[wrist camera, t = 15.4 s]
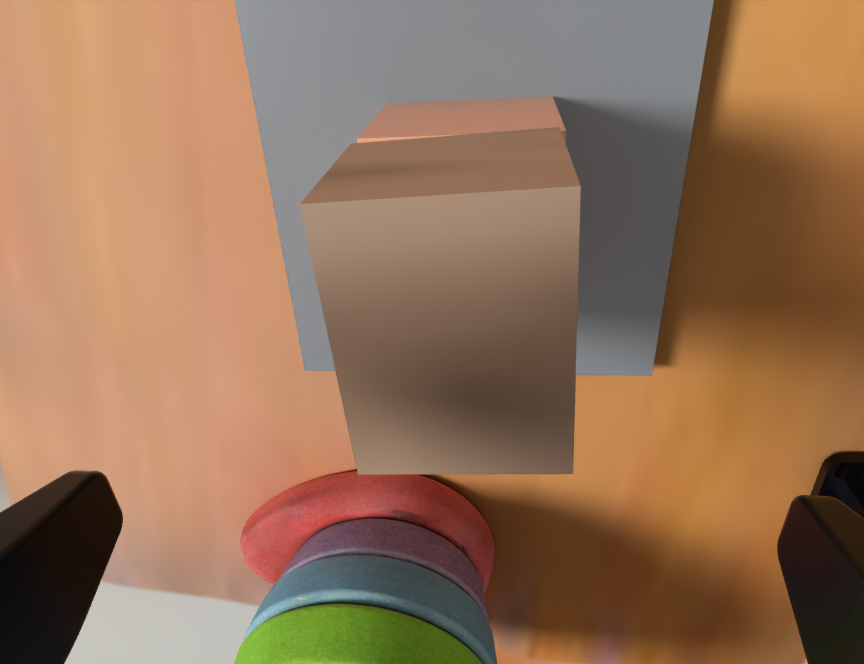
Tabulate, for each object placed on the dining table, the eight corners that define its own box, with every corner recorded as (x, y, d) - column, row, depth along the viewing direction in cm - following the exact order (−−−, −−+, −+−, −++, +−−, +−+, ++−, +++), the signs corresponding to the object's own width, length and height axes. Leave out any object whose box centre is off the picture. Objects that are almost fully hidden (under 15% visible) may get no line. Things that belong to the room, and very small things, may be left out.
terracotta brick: (544, 296, 19) (553, 366, 16) (404, 296, 20) (384, 365, 16) (552, 96, 16) (566, 131, 13) (386, 103, 17) (356, 138, 13)
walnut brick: (557, 363, 16) (572, 474, 12) (387, 369, 16) (357, 474, 13) (559, 126, 13) (580, 185, 9) (351, 142, 13) (299, 204, 10)
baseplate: (646, 362, 21) (651, 375, 20) (311, 358, 22) (305, 370, 22) (710, -44, 15) (721, -44, 14) (242, -17, 16) (231, -16, 16)
